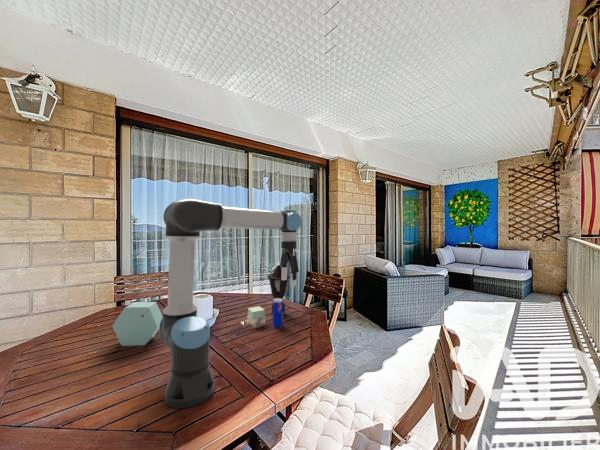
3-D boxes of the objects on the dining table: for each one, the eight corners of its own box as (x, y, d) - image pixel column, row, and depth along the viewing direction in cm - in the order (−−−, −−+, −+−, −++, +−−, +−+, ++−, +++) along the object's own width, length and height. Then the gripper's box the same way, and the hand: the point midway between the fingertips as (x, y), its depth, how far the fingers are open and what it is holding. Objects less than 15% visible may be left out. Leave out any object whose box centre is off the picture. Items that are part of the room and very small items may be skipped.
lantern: (289, 318, 152) (290, 267, 151) (264, 317, 152) (265, 267, 151) (290, 309, 166) (291, 263, 166) (267, 309, 167) (268, 263, 166)
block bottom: (254, 327, 137) (254, 319, 137) (247, 323, 142) (247, 316, 142) (264, 323, 142) (265, 316, 142) (257, 319, 147) (257, 313, 147)
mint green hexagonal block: (146, 347, 124) (171, 311, 125) (138, 355, 116) (164, 317, 117) (115, 328, 122) (140, 292, 123) (104, 336, 114) (132, 297, 115)
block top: (252, 319, 137) (252, 312, 137) (247, 315, 143) (247, 308, 143) (264, 317, 141) (264, 309, 141) (259, 313, 147) (259, 306, 147)
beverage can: (278, 329, 135) (279, 301, 135) (271, 327, 138) (271, 299, 138) (284, 326, 140) (284, 299, 139) (276, 324, 142) (277, 297, 142)
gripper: (306, 242, 117) (305, 288, 117) (287, 238, 140) (287, 277, 140) (290, 243, 114) (290, 290, 114) (274, 238, 137) (274, 278, 137)
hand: (288, 283), depth 127 cm, fingers open, 13 cm apart
